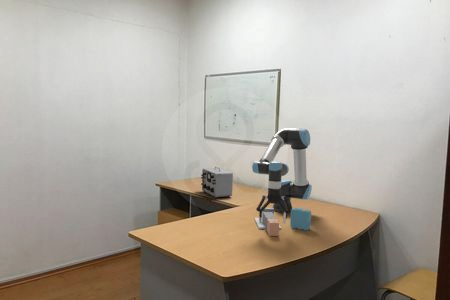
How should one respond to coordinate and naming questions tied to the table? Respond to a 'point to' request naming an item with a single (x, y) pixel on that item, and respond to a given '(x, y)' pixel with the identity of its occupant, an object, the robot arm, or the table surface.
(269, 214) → the grey flanged post
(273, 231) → the pink block
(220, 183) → the vintage electronic device
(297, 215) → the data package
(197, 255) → the table surface
